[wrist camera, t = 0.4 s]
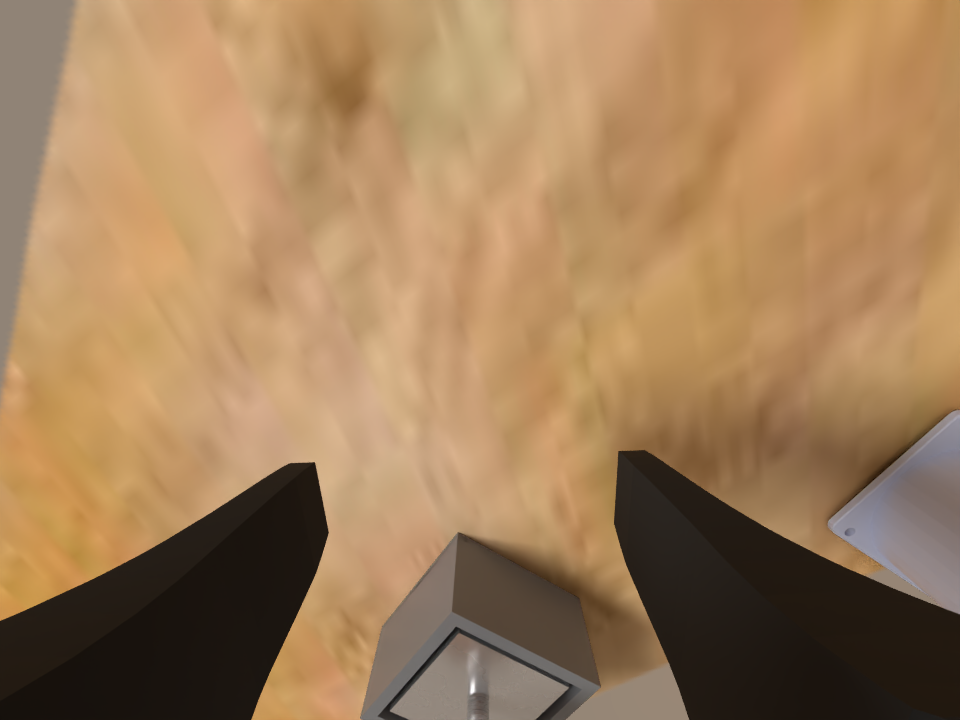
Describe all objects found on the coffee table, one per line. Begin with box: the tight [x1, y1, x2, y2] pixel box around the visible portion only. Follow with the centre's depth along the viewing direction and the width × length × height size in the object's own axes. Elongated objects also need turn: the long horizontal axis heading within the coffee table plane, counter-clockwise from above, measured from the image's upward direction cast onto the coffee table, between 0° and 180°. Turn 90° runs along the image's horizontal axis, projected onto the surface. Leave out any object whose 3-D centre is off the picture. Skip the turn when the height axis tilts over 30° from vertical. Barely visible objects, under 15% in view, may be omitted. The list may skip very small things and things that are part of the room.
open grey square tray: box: [360, 532, 601, 720], centre depth 23 cm, size 8×8×5 cm
